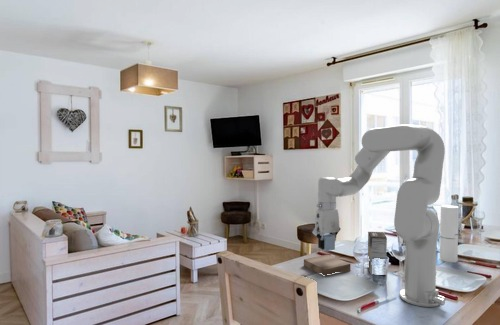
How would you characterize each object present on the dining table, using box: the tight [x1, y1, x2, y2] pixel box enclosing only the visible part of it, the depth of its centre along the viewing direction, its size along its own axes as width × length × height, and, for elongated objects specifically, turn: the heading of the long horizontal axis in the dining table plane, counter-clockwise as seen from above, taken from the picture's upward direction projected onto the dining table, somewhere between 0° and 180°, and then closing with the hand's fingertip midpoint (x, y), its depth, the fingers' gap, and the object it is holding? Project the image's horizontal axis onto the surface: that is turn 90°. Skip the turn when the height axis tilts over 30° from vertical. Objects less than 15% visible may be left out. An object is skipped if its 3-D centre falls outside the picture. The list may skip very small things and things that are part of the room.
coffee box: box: [367, 231, 388, 276], centre depth 142 cm, size 9×6×16 cm
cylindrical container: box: [439, 204, 460, 263], centre depth 156 cm, size 7×7×25 cm
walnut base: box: [303, 254, 351, 275], centre depth 146 cm, size 14×14×3 cm
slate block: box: [317, 233, 336, 252], centre depth 146 cm, size 5×5×6 cm
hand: (326, 247), depth 146 cm, fingers closed on slate block, 5 cm apart
